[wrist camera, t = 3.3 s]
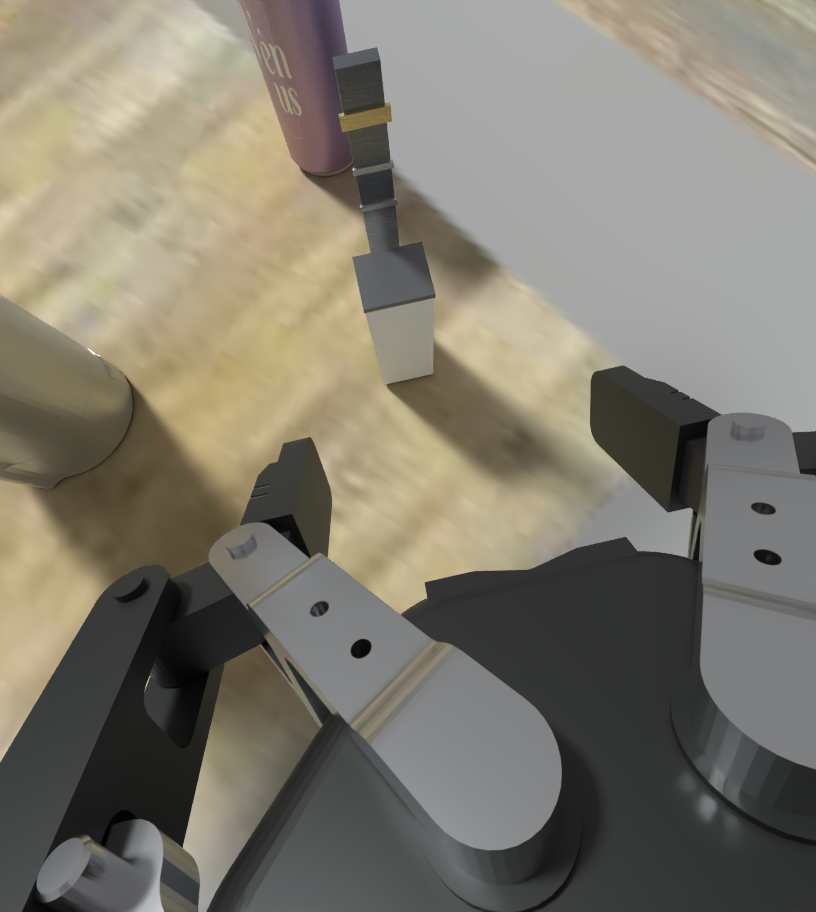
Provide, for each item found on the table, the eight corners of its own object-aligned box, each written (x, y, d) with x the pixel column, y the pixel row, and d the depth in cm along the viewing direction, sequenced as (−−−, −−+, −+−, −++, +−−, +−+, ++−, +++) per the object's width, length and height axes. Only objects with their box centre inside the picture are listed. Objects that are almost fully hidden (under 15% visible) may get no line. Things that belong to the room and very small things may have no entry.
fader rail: (418, 329, 31) (404, 70, 15) (378, 338, 31) (318, 88, 15) (412, 306, 32) (392, 29, 15) (373, 314, 32) (309, 47, 15)
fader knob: (434, 374, 30) (435, 293, 21) (383, 385, 30) (363, 309, 21) (424, 335, 31) (421, 241, 22) (375, 346, 31) (352, 257, 22)
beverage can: (377, 140, 36) (339, -151, 21) (335, 191, 35) (265, -78, 20) (320, 112, 37) (246, -184, 22) (277, 161, 36) (171, -116, 21)
